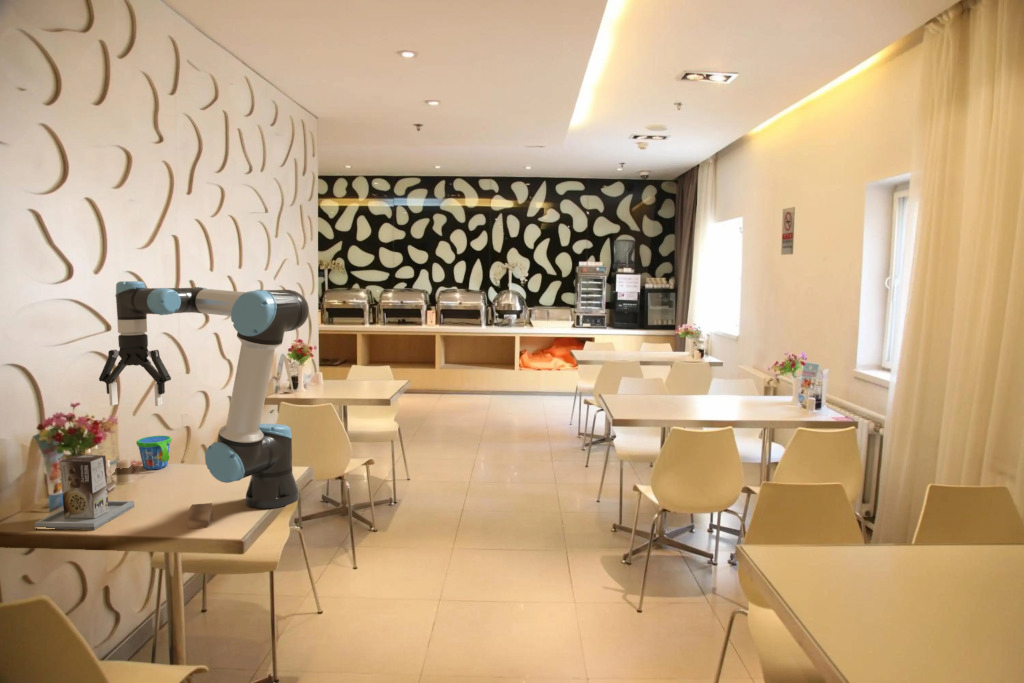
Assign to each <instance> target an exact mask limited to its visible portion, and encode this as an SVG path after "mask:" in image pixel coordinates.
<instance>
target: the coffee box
mask: <svg viewBox="0 0 1024 683" xmlns="http://www.w3.org/2000/svg"><path fill="white" fill-rule="evenodd" d="M106 459H107V458H106V455H101V454H100V455H97V454H96V455H93V454H90V455H88V454H79V455H78V454H77V455H72V456H70V457H68V458H65V459H63V460H60V461H59V468H60V480H61V493H62V507H63V508H62V509H64V518H96V517H98V516H100V515H102V514H104V513H106V512H108V511H109V507H108V501H109V493H108V492H109V490H108V479H107V478H108V476H107V461H106Z"/></svg>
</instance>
